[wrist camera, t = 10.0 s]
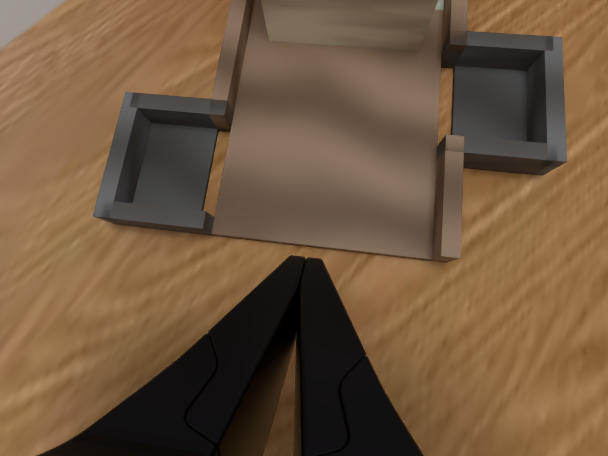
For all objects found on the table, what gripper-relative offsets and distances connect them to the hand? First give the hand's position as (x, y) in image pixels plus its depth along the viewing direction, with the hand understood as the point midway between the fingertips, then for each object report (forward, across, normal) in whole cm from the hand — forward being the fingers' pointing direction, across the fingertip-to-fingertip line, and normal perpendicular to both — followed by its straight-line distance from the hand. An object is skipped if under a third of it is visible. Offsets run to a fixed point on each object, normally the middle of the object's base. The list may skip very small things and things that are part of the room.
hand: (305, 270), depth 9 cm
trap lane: (+18, 0, -3) cm, 19 cm away
